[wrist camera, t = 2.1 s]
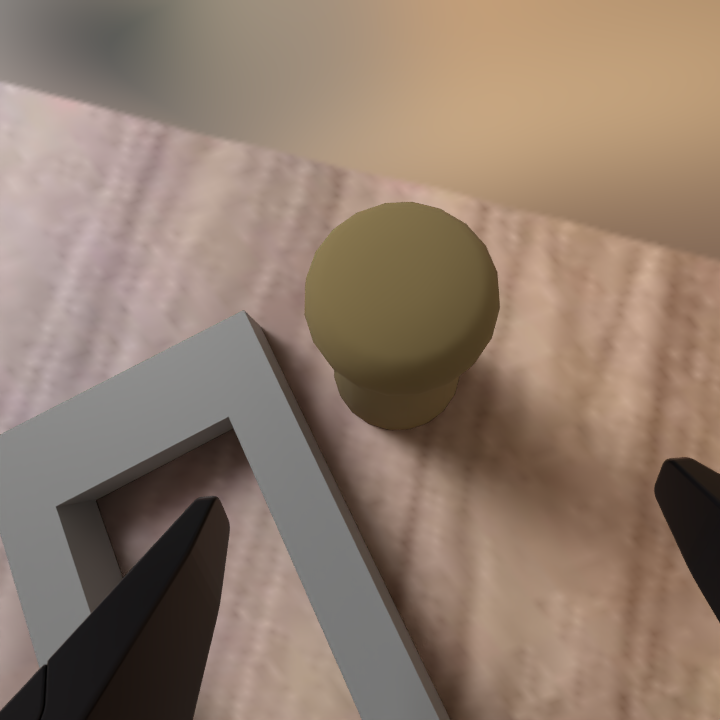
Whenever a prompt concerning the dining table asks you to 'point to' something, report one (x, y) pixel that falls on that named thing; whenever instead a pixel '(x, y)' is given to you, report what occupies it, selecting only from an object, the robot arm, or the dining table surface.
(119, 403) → the notched board
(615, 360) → the dining table surface
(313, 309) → the cork
